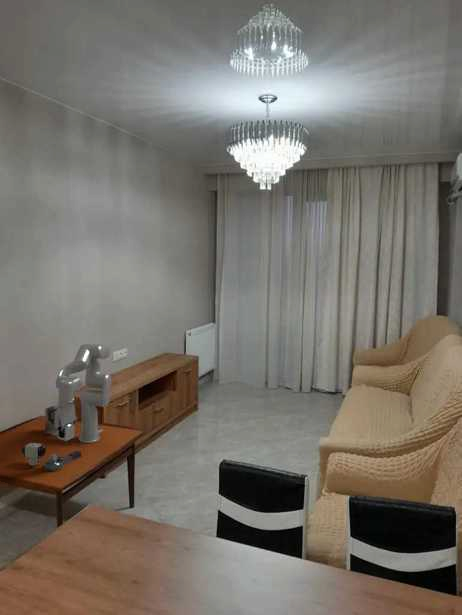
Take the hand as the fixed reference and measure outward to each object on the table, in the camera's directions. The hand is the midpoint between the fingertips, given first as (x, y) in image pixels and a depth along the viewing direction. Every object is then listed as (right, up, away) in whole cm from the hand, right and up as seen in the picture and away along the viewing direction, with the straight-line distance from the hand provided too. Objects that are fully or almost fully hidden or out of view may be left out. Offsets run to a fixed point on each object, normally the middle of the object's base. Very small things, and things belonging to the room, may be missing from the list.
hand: (66, 435), depth 252 cm
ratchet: (-3, -17, +6) cm, 18 cm away
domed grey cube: (0, -2, 0) cm, 2 cm away
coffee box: (-24, -11, +47) cm, 54 cm away
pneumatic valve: (-18, -17, +3) cm, 25 cm away
